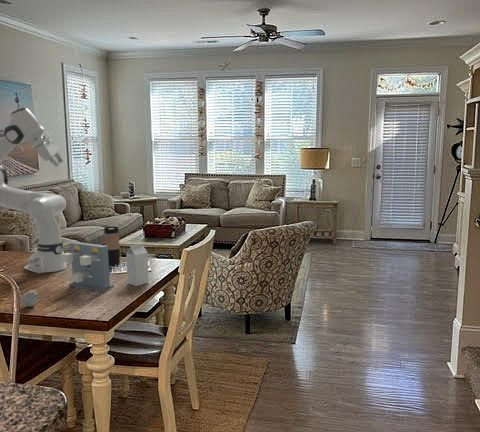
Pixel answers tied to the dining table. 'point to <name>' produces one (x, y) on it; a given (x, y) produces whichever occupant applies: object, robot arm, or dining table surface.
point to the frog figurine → (29, 298)
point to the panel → (92, 267)
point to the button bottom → (80, 276)
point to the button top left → (70, 256)
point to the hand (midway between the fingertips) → (59, 163)
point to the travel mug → (112, 244)
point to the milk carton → (137, 265)
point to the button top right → (88, 259)
